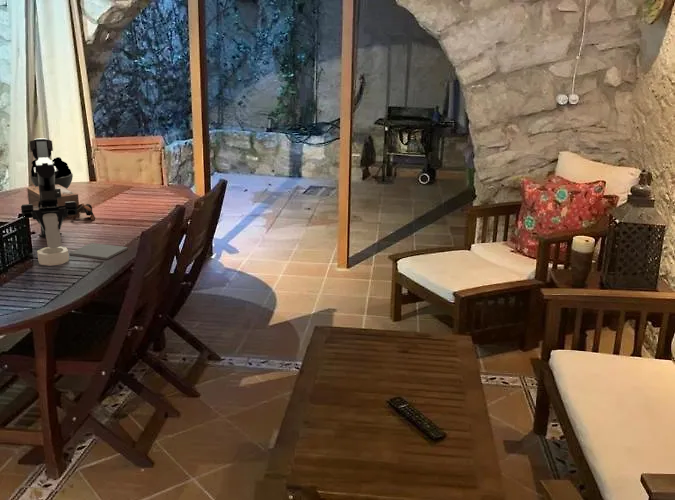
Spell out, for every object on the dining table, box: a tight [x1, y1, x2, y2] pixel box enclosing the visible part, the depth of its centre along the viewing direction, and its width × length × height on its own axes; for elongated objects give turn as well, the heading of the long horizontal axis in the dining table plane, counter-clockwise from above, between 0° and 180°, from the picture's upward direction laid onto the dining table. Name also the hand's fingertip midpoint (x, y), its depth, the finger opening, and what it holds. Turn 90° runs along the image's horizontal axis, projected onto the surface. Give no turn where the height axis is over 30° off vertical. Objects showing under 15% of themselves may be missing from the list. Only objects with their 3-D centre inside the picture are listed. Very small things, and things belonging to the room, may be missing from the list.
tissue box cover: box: [26, 185, 81, 218], centre depth 316 cm, size 26×14×10 cm, turn 41°
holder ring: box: [36, 246, 70, 267], centre depth 249 cm, size 10×10×4 cm
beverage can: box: [43, 213, 63, 248], centre depth 246 cm, size 5×5×12 cm
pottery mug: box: [70, 202, 96, 222], centre depth 306 cm, size 12×10×8 cm
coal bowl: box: [30, 157, 74, 189], centre depth 347 cm, size 20×20×19 cm
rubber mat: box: [69, 242, 128, 260], centre depth 261 cm, size 16×14×1 cm
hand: (51, 229), depth 245 cm, fingers closed on beverage can, 5 cm apart
